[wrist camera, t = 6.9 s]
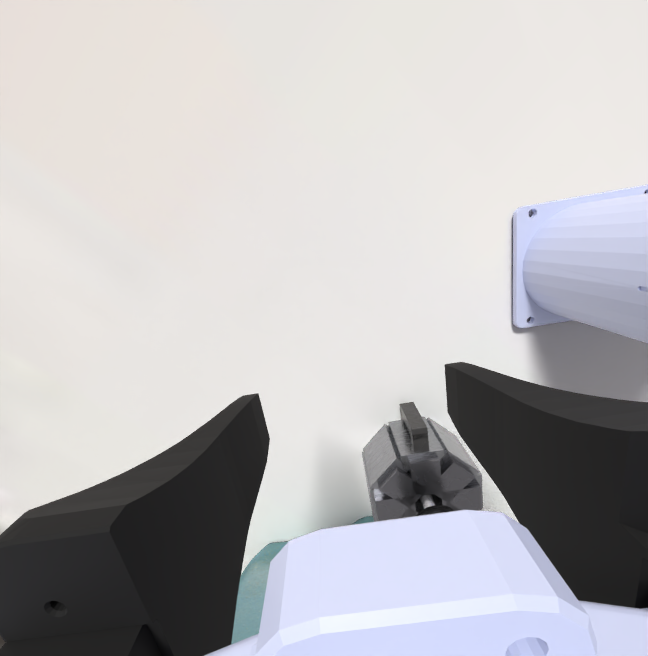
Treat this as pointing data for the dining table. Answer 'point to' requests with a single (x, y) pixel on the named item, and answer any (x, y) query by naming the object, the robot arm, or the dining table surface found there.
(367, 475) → the press pot
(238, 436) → the robot arm
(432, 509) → the plunger
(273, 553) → the flower pot
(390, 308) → the dining table surface
